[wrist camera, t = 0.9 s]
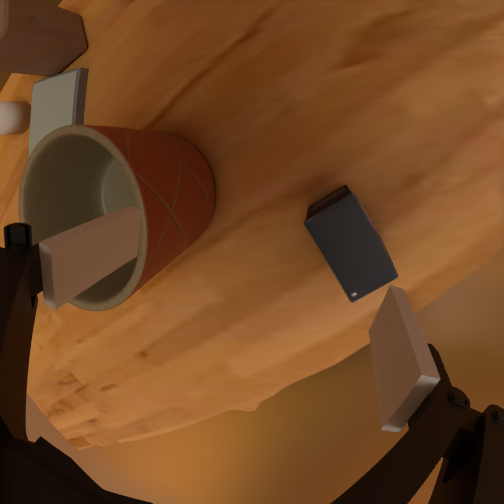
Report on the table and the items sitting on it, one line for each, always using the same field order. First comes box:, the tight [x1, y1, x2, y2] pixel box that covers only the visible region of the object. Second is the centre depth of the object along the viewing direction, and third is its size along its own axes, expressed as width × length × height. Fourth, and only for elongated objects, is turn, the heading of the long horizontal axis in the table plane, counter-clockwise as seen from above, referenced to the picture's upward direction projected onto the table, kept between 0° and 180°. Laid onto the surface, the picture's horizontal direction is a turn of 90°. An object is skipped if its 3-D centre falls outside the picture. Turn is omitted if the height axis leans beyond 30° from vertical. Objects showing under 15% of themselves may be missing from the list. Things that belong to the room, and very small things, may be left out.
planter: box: [19, 124, 215, 311], centre depth 36 cm, size 19×19×20 cm
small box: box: [304, 185, 398, 303], centre depth 36 cm, size 11×6×10 cm, turn 34°
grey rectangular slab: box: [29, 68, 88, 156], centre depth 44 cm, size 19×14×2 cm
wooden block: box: [0, 0, 87, 77], centre depth 31 cm, size 10×10×20 cm
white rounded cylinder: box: [0, 102, 31, 135], centre depth 43 cm, size 7×7×9 cm
